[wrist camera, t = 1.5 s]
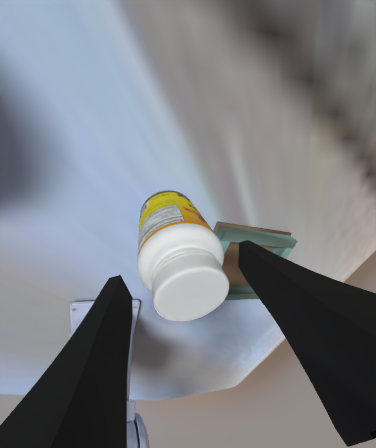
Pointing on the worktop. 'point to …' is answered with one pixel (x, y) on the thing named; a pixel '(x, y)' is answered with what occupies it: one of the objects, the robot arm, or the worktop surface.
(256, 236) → the teal picture frame
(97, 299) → the robot arm
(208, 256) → the supplement bottle
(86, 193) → the worktop surface
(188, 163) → the worktop surface
